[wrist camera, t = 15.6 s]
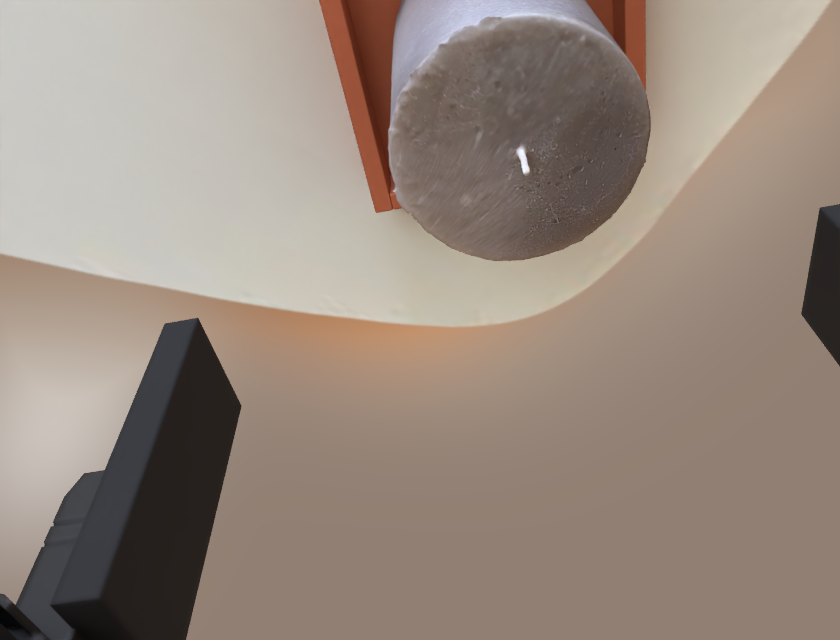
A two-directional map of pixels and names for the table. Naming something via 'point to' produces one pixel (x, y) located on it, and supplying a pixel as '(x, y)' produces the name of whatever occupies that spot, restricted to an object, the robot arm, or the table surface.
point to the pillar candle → (512, 123)
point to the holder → (372, 69)
